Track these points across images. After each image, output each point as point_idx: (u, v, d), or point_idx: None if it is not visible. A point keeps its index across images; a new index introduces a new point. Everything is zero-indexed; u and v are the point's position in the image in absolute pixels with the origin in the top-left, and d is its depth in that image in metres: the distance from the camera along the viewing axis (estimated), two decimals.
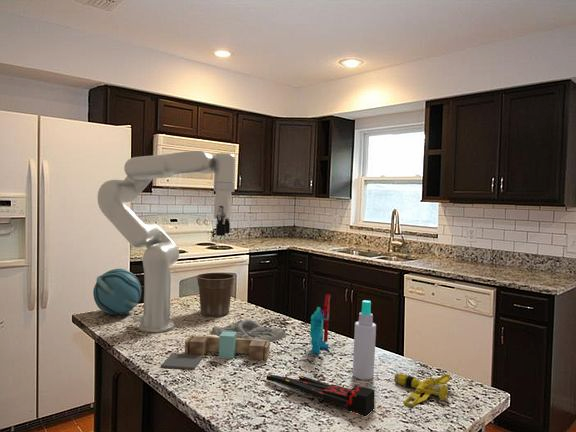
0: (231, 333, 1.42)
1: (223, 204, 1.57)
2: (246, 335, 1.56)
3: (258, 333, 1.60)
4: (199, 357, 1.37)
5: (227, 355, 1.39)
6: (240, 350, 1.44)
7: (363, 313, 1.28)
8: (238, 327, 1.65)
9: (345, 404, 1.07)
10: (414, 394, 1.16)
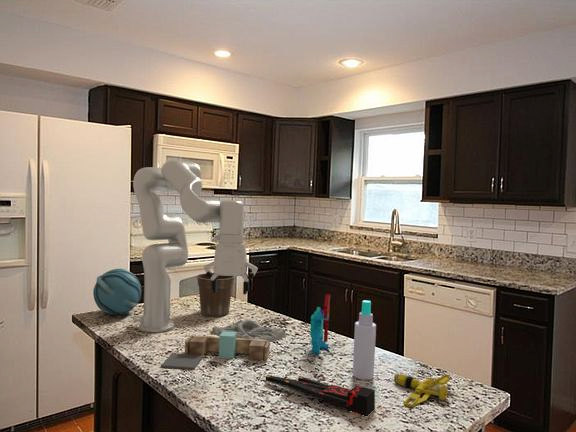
0: (231, 333, 1.42)
1: (246, 258, 1.42)
2: (246, 335, 1.56)
3: (258, 333, 1.60)
4: (199, 357, 1.37)
5: (227, 355, 1.39)
6: (240, 350, 1.44)
7: (363, 313, 1.28)
8: (238, 327, 1.65)
9: (346, 404, 1.07)
10: (414, 395, 1.16)
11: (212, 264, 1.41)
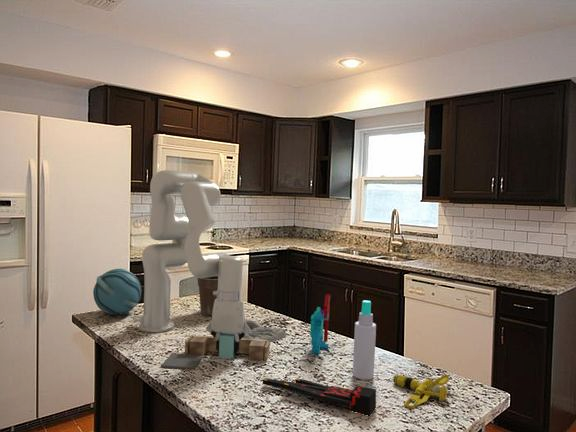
0: (231, 333, 1.42)
1: None
2: (246, 335, 1.56)
3: (258, 333, 1.60)
4: (199, 357, 1.37)
5: (227, 355, 1.39)
6: (240, 350, 1.44)
7: (363, 313, 1.28)
8: None
9: (348, 405, 1.07)
10: (414, 396, 1.15)
11: None
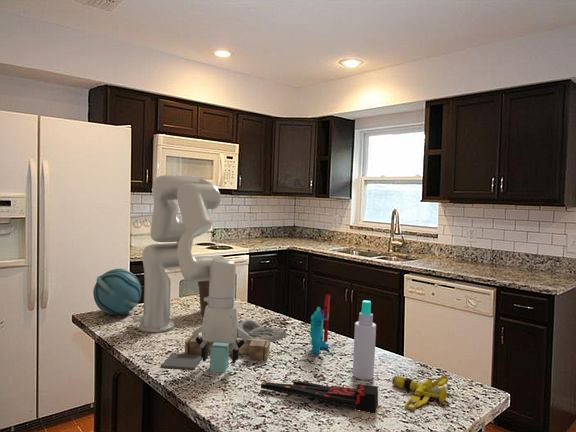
0: (223, 344, 1.31)
1: None
2: None
3: (259, 333, 1.60)
4: (199, 357, 1.37)
5: (219, 368, 1.29)
6: (240, 350, 1.44)
7: (363, 313, 1.28)
8: (239, 327, 1.65)
9: (354, 404, 1.08)
10: (414, 397, 1.15)
11: (201, 329, 1.30)
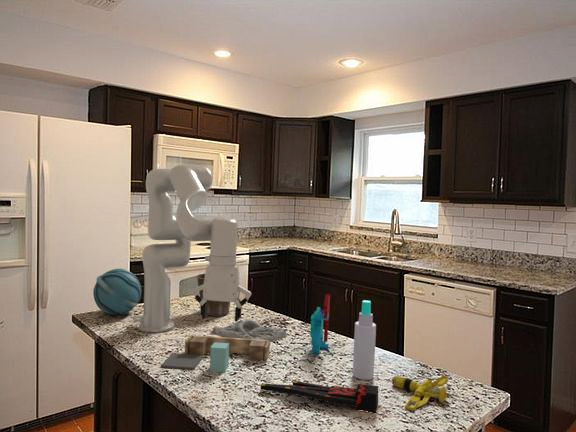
0: (223, 344, 1.31)
1: (239, 282, 1.30)
2: (247, 335, 1.56)
3: (259, 333, 1.60)
4: (199, 357, 1.37)
5: (219, 368, 1.29)
6: (240, 350, 1.44)
7: (363, 313, 1.28)
8: (239, 327, 1.65)
9: (355, 404, 1.08)
10: (414, 397, 1.14)
11: (202, 287, 1.30)
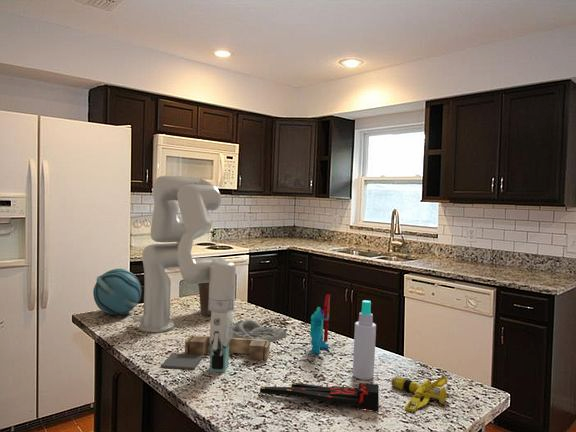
0: None
1: None
2: (247, 335, 1.56)
3: (259, 333, 1.60)
4: (199, 357, 1.37)
5: None
6: (240, 350, 1.44)
7: (363, 313, 1.28)
8: (239, 327, 1.65)
9: (358, 403, 1.08)
10: (414, 398, 1.14)
11: (218, 339, 1.25)
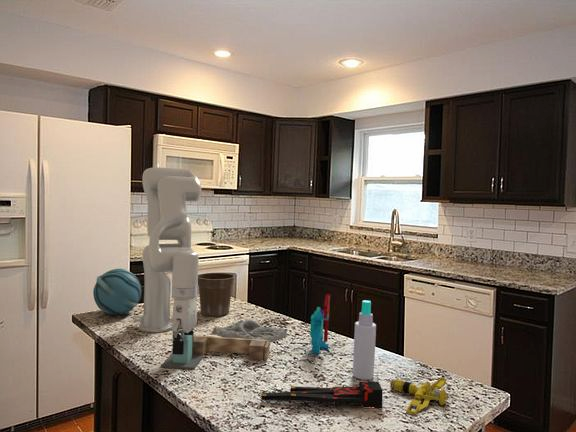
0: (186, 336, 1.35)
1: None
2: (248, 335, 1.56)
3: (260, 333, 1.60)
4: (199, 357, 1.37)
5: (181, 359, 1.32)
6: (240, 350, 1.44)
7: (363, 313, 1.28)
8: (239, 327, 1.65)
9: (363, 402, 1.09)
10: (414, 401, 1.12)
11: (179, 324, 1.28)
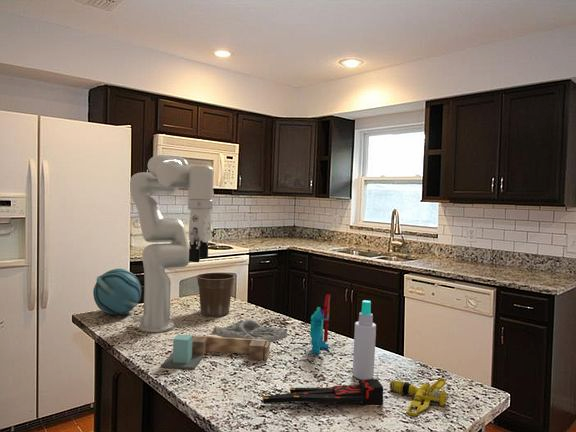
0: (186, 336, 1.35)
1: None
2: (248, 335, 1.56)
3: (260, 333, 1.60)
4: (199, 357, 1.37)
5: (181, 359, 1.32)
6: (240, 350, 1.44)
7: (363, 313, 1.28)
8: (239, 327, 1.65)
9: (365, 400, 1.10)
10: (415, 402, 1.12)
11: (196, 232, 1.34)
